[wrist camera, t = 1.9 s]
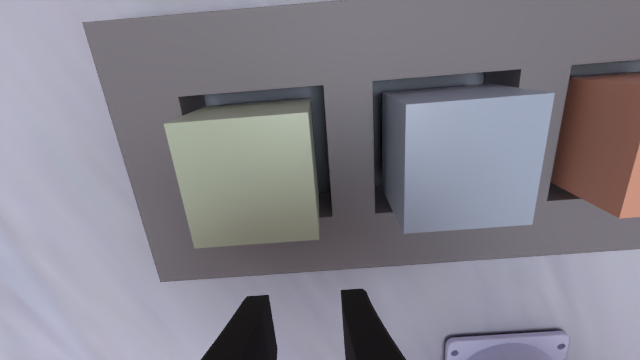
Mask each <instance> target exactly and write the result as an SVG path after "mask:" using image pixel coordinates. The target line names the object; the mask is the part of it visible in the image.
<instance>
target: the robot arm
mask: <svg viewBox="0 0 640 360" xmlns="http://www.w3.org/2000/svg"><path fill="white" fill-rule="evenodd" d="M341 300H342V315H343V330H344V345H345V356H346V360H406V359H405V357H404V356H403V354H402V353H401V351H400V350H399V348H398V347H397V345H396V344H395V342H394V341H393V339H392V338H391V336H390V335H389V333H388V332H387V330H386V328H385V327H384V325H383V324H382V322H381V320H380V318H379V317H378V315H377V313H376V311H375V309H374V308H373V306H372V304H371V302H370V299H369V297H368V295H367V292H366V291H365V290H363V289H350V290H341ZM569 341H570V337H569V336H568V335H567V334H566V332H564V331H548V332H533V333H517V334H501V335H486V336H470V337H455V338H450V339H448V340H447V342H446V347H445V360H565V356H566V353H567V349H568V345H569ZM454 350H455V351H454ZM201 360H277V344H276V338H275V332H274V326H273V320H272V313H271V307H270V301H269V295H262V296H247V297H246V298H245V300H244V301H243V302H242V304H241V305H240V307H239V308H238V310H237V311H236V312H235V314H234V315H233V317H232V318H231V320H230V321H229V322H228V324H227V325H226V327H225V328H224V329H223V331H222V332H221V334H220V335H219V336H218V338H217V339H216V340H215V342H214V343H213V344H212V346H211V347H210V348H209V350H208V351H207V352H206V354H205V355H204V356H203V358H202V359H201Z"/></svg>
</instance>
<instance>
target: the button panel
mask: <svg viewBox="0 0 640 360" xmlns="http://www.w3.org/2000/svg"><path fill="white" fill-rule="evenodd" d="M82 23H83V27H84V30H85V33H86V37H87V40H88V43H89V47H90V50H91V53H92V57H93V60H94V63H95V66H96V70H97V73H98V76H99V80H100V83H101V86H102V90H103V93H104V96H105V100H106V103H107V106H108V110H109V113H110V116H111V120H112V123H113V126H114V129H115V133H116V136H117V139H118V143H119V146H120V149H121V153H122V156H123V159H124V163H125V166H126V169H127V173H128V176H129V179H130V183H131V186H132V189H133V193H134V196H135V199H136V202H137V206H138V209H139V212H140V216H141V219H142V222H143V226H144V229H145V232H146V236H147V239H148V242H149V246H150V249H151V252H152V256H153V259H154V262H155V265H156V269H157V272H158V275H159V279H160V282H167V281H182V280H197V279H211V278H226V277H240V276H255V275H269V274H284V273H298V272H313V271H327V270H342V269H356V268H371V267H386V266H400V265H415V264H429V263H444V262H458V261H473V260H487V259H502V258H516V257H531V256H545V255H560V254H575V253H589V252H604V251H618V250H633V249H640V217H633V218H617V217H615V216H614V215H612V214H610V213H608V212H606V211H604V210H602V209H600V208H598V207H596V206H595V205H593V204H591V203H589V202H587V201H585V200H583V199H581V198H579V197H578V196H576V195H574V194H572V193H570V192H568V191H566V190H564V189H562V188H560V187H559V186H557V185H555V184H553V183H551V182H550V181H551V176H552V170H553V165H554V159H555V154H556V148H557V143H558V137H559V132H560V127H561V121H562V116H563V110H564V105H565V99H566V94H567V88H568V83H569V78H570V72H571V67H572V65H579V64H592V63H604V62H616V61H629V60H640V0H339V1H327V2H315V3H304V4H292V5H280V6H269V7H257V8H246V9H234V10H222V11H211V12H199V13H187V14H176V15H164V16H152V17H141V18H129V19H117V20H106V21H94V22H82ZM480 72H485V76H484V84H496V85H503V86H510V87H517V88H524V89H531V90H538V91H545V92H552V93H555V95H554V101H553V107H552V113H551V119H550V125H549V130H548V136H547V142H546V148H545V154H544V160H543V165H542V171H541V177H540V183H539V189H538V195H537V200H536V206H535V212H534V218H533V224H532V225H520V226H506V227H492V228H478V229H463V230H449V231H435V232H421V233H407V234H404V233H403V231H402V229H401V227H400V225H399V223H398V221H397V219H396V217H395V215H394V213H393V211H392V209H391V207H390V205H389V203H388V201H387V199H386V197H385V194H384V192H383V188H382V189H375V185H374V133H373V82H372V81H381V80H393V79H405V78H418V77H430V76H443V75H455V74H467V73H480ZM318 85H323V96H324V110H325V124H326V138H327V152H328V166H329V180H330V192H327V193H319V240H308V241H294V242H280V243H266V244H251V245H237V246H223V247H209V248H195V249H194V245H193V241H192V237H191V233H190V229H189V225H188V221H187V217H186V213H185V209H184V205H183V201H182V197H181V193H180V188H179V184H178V180H177V176H176V172H175V168H174V164H173V160H172V156H171V152H170V148H169V144H168V140H167V136H166V132H165V128H164V123H167V122H169V121H171V120H174V119H176V118H179V117H181V116H183V115H186V114H188V113H190V112H193V111H195V110H198V109H200V108H202V107H205V101H204V96H203V95H207V94H219V93H231V92H244V91H256V90H269V89H281V88H294V87H306V86H318Z"/></svg>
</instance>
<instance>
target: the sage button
mask: <svg viewBox="0 0 640 360" xmlns="http://www.w3.org/2000/svg"><path fill="white" fill-rule="evenodd" d="M164 128H165V132H166V136H167V140H168V144H169V148H170V152H171V156H172V160H173V164H174V168H175V172H176V176H177V180H178V184H179V188H180V193H181V197H182V201H183V205H184V209H185V213H186V217H187V221H188V225H189V229H190V233H191V237H192V241H193V245H194V249H195V248H209V247H223V246H237V245H251V244H266V243H280V242H294V241H308V240H319V190H318V179H317V167H316V155H315V143H314V132H313V120H312V108H311V98H304V99H292V100H279V101H267V102H254V103H242V104H229V105H217V106H205V107H202V108H200V109H198V110H195V111H193V112H190V113H188V114H186V115H183V116H181V117H179V118H176V119H174V120H171V121H169V122H167V123H164Z"/></svg>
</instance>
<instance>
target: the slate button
mask: <svg viewBox="0 0 640 360" xmlns="http://www.w3.org/2000/svg"><path fill="white" fill-rule="evenodd" d="M554 95H555V93H552V92H545V91H538V90H531V89H524V88H517V87H510V86H503V85H496V84H480V85H467V86H455V87H442V88H430V89H417V90H405V91H392V92H382V151H383V192H384V194H385V197H386V199H387V201H388V203H389V205H390V207H391V209H392V211H393V213H394V215H395V217H396V219H397V221H398V223H399V225H400V227H401V229H402V231H403V233H404V234H407V233H421V232H435V231H449V230H463V229H478V228H492V227H506V226H520V225H532V224H533V218H534V212H535V206H536V200H537V195H538V189H539V183H540V177H541V171H542V165H543V160H544V154H545V148H546V142H547V136H548V130H549V125H550V119H551V113H552V107H553V101H554Z"/></svg>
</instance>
